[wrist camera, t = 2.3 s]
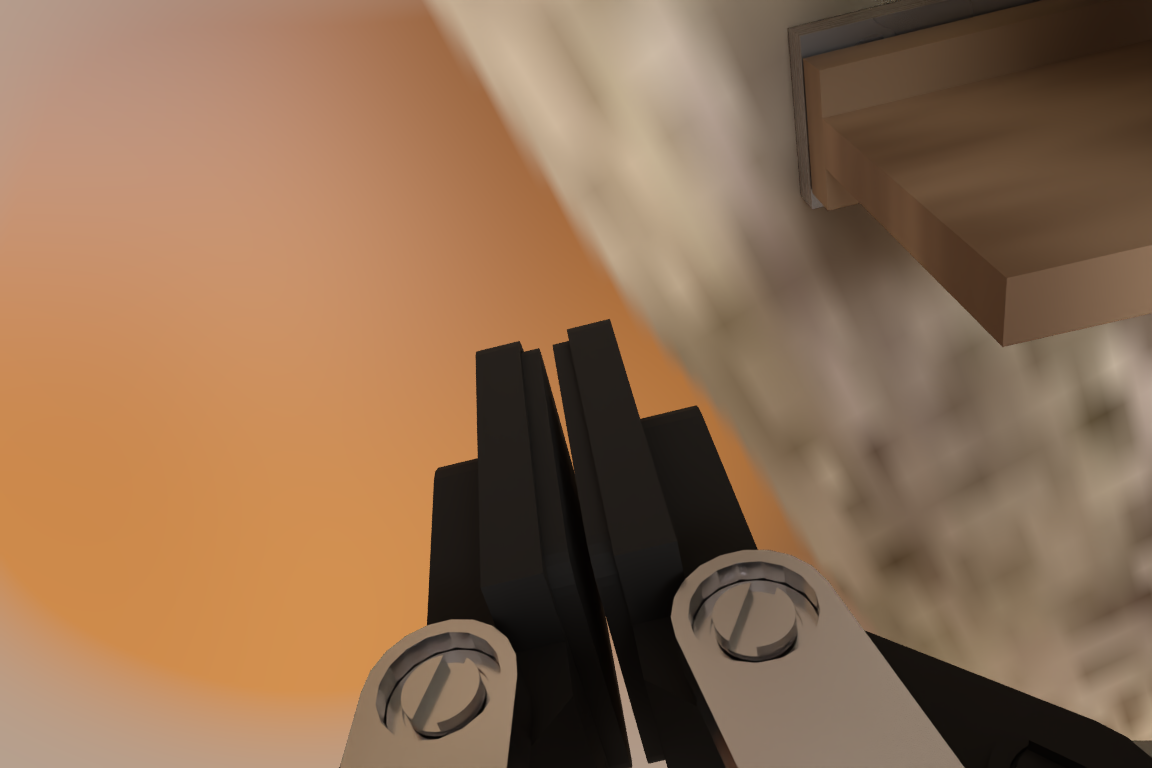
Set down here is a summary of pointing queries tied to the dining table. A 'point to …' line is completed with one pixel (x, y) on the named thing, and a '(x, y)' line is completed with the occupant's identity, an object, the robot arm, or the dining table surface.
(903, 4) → the grey flat strip
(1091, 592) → the dining table surface
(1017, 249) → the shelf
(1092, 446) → the dining table surface
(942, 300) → the dining table surface
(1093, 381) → the dining table surface
